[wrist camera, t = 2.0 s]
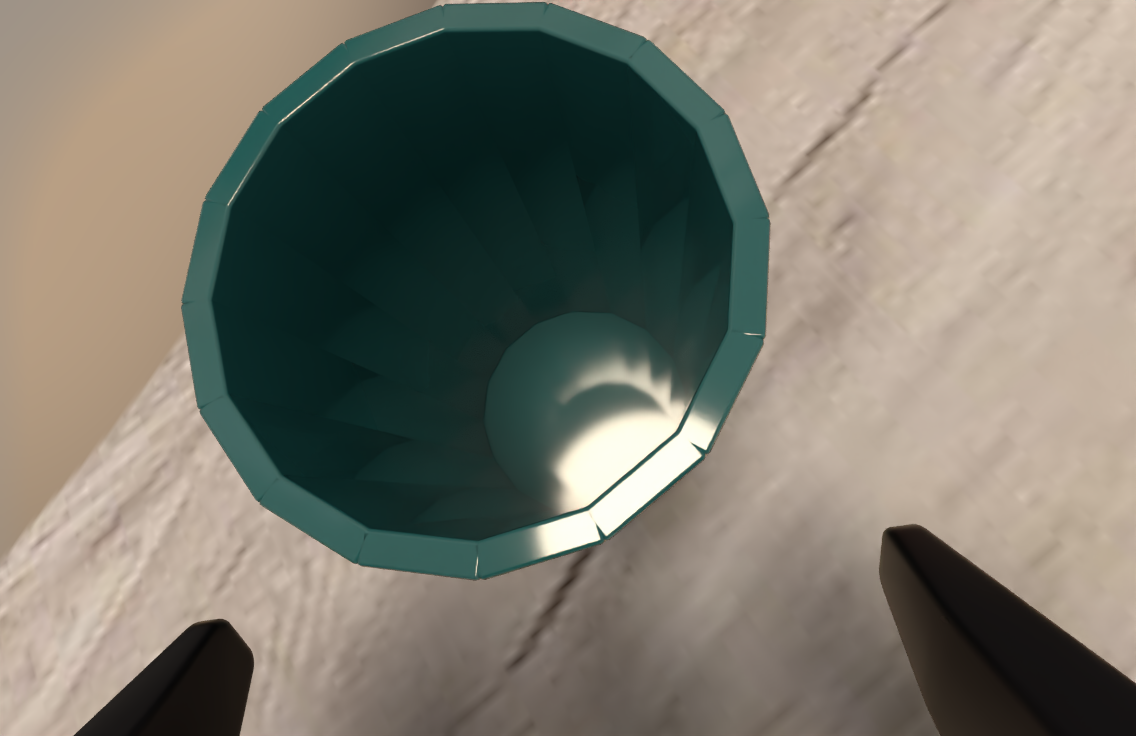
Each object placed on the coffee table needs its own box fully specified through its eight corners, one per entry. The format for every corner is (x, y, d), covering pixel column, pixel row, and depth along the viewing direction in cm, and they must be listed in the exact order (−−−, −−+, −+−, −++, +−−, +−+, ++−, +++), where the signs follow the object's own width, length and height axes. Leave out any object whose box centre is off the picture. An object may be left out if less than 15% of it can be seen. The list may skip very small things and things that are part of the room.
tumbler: (729, 486, 19) (872, 461, 6) (512, 553, 19) (235, 657, 7) (655, 279, 20) (650, -77, 8) (456, 345, 21) (148, 113, 8)
